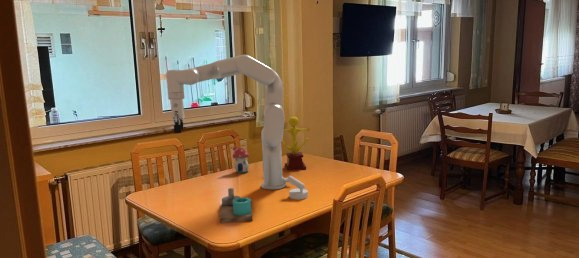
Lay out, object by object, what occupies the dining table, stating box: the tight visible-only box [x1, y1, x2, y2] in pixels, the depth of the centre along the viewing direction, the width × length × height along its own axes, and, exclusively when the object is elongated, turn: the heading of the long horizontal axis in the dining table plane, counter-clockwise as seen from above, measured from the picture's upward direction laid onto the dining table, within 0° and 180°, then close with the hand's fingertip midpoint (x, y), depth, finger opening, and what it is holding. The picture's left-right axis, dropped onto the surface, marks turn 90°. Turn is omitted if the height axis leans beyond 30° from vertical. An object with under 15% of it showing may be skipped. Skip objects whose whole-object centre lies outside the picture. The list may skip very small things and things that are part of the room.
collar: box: [233, 196, 252, 215], centre depth 185 cm, size 7×7×5 cm
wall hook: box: [286, 175, 309, 200], centre depth 208 cm, size 9×10×10 cm
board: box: [219, 187, 254, 224], centre depth 191 cm, size 13×23×8 cm, turn 6°
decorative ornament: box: [232, 146, 250, 175], centre depth 254 cm, size 9×6×15 cm
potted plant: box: [281, 116, 310, 172], centre depth 258 cm, size 14×16×30 cm
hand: (179, 131), depth 216 cm, fingers open, 9 cm apart
